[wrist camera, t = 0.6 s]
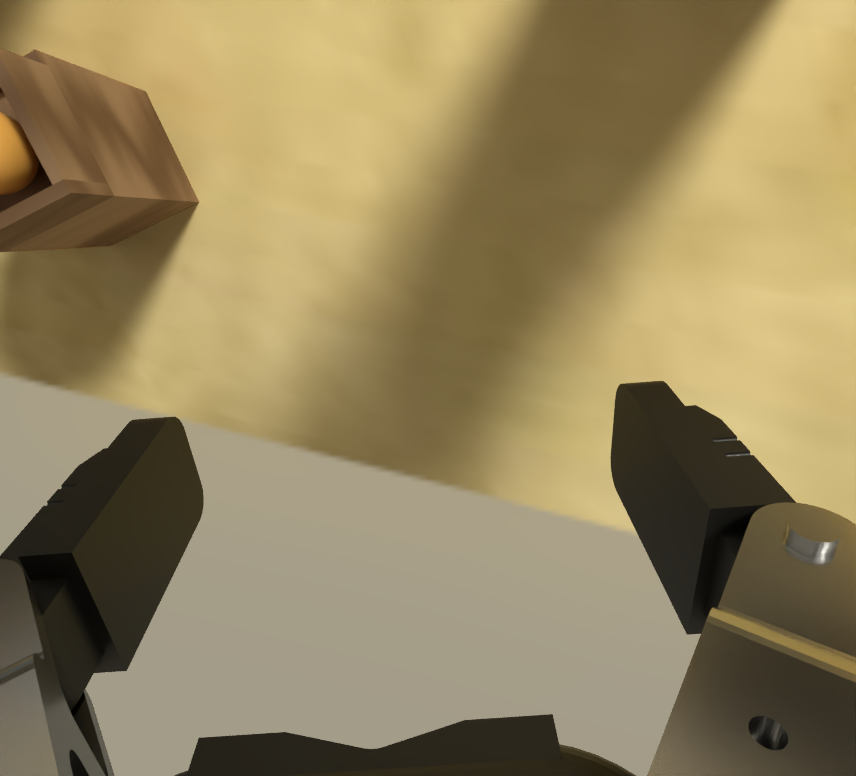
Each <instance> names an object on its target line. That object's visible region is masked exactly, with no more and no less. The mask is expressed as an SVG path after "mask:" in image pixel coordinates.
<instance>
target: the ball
mask: <svg viewBox="0 0 856 776" xmlns="http://www.w3.org/2000/svg"><path fill="white" fill-rule="evenodd" d="M38 167H39V158H38V156H37V155H36V153H35V151H34V149H33V147H32V145H31V143H30V141H29V140H28V138H27V136H26V134H25V132H24V130H23V128H22V126H21V125H20V123H18V122H17V121H16V120H14V119H13V118H11V117H10V116H8V115H6V114H4V113H1V112H0V195H6V194H11V193H15V192H18V191H20V190H22V189H24V188H25V187H26V186H28V185H29V184H30V183H31V182H32V180H33V179H34V177H35V176H36V174H37V171H38Z"/></svg>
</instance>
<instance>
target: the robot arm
mask: <svg viewBox="0 0 856 776" xmlns="http://www.w3.org/2000/svg"><path fill="white" fill-rule="evenodd" d="M611 471H612V477H613V482H614V485H615V488H616V491H617V493H618V495H619V497H620V499H621V501H622V503H623V505H624V507H625V509H626V511H627V513H628V515H629V517H630V519H631V521H632V523H633V525H634V527H635V529H636V532H637V534H638V536H639V538H640V540H641V542H642V543H643V546H644V548H645V550H646V552H647V554H648V556H649V558H650V560H651V562H652V564H653V566H654V568H655V570H656V572H657V574H658V576H659V578H660V580H661V582H662V584H663V586H664V588H665V590H666V592H667V594H668V597H669V599H670V601H671V603H672V605H673V607H674V609H675V611H676V613H677V615H678V617H679V619H680V621H681V623H682V625H683V627H684V629H685V631H686V633H687V634H701V636H700V638H699V641H698V644H697V646H696V649H695V652H694V654H693V657H692V660H691V662H690V665H689V667H688V670H687V673H686V675H685V678H684V681H683V683H682V686H681V688H680V691H679V694H678V697H677V699H676V702H675V704H674V707H673V709H672V712H671V715H670V717H669V720H668V723H667V725H666V728H665V731H664V733H663V736H662V738H661V741H660V744H659V746H658V749H657V752H656V754H655V757H654V760H653V762H652V765H651V767H650V770H649V772H648V775H647V776H856V525H855V524H854V523H852V522H851V521H849V520H848V519H846V518H844V517H842V516H840V515H838V514H836V513H833V512H831V511H829V510H826V509H823V508H819V507H816V506H812V505H807V504H801V503H796V502H795V501H794V500H793V499H792V497H791V496H790V495H789V494H788V493H787V492H786V491H785V490H784V489H783V487H782V486H781V485H780V484H779V483H778V482H777V481H776V480H775V479H774V477H773V476H772V475H771V474H770V473H769V472H768V471H767V470H766V469H765V467H764V466H763V465H762V464H761V463H760V462H759V461H758V460H757V459H756V458H755V456H754V455H750V451H749V450H748V449H747V448H746V446H745V445H744V444H743V443H742V442H741V441H740V440H739V441H737V436H736V435H735V434H734V433H733V432H732V431H731V430H730V429H729V428H728V426H727V425H726V424H725V423H724V422H723V421H722V420H721V419H720V418H718V417H716V416H714V415H712V414H711V413H709V412H707V411H705V410H703V409H702V408H700V407H698V406H696V405H694V406H685V405H684V404H683V403H682V402H681V401H680V399H679V398H678V397H677V396H676V395H675V393H674V392H673V391H672V390H671V389H670V387H669V386H668V385H667V384H666V383H665V382H664V381H653V382H640V383H627V384H620V385H619V386H618V389H617V392H616V398H615V410H614V422H613V435H612V447H611ZM47 503H48V505H47V506H43V507H42V508H41V509H40V511H39V512H38V513H37V514H36V515H35V517H34V518H33V519H32V520H31V521H30V522H29V523H28V525H27V526H26V527H25V528H24V529H23V530H22V531H21V533H20V534H19V535H18V536H17V537H16V538H15V540H14V541H13V542H12V543H11V544H10V545H9V546H8V548H7V549H6V550H5V551H4V552H3V553H2V554H1V556H0V776H114V773H113V770H112V766H111V763H110V760H109V757H108V753H107V750H106V747H105V743H104V740H103V737H102V734H101V730H100V727H99V724H98V721H97V717H96V714H95V711H94V707H93V704H92V701H91V699H90V697H89V695H88V693H87V691H86V689H85V688H86V686H87V684H88V682H89V680H90V679H91V677H92V675H93V673H100V672H115V671H127V669H128V667H129V665H130V663H131V661H132V658H133V657H134V654H135V652H136V650H137V648H138V646H139V644H140V642H141V640H142V638H143V636H144V634H145V632H146V630H147V628H148V626H149V623H150V621H151V619H152V617H153V615H154V613H155V611H156V609H157V607H158V605H159V603H160V601H161V599H162V597H163V595H164V592H165V591H166V588H167V587H168V584H169V582H170V580H171V578H172V576H173V574H174V572H175V570H176V568H177V566H178V563H179V562H180V560H181V558H182V556H183V554H184V552H185V549H186V547H187V545H188V543H189V541H190V539H191V537H192V535H193V533H194V531H195V529H196V527H197V525H198V522H199V521H200V518H201V515H202V510H203V489H202V485H201V481H200V478H199V475H198V472H197V468H196V465H195V462H194V459H193V455H192V452H191V449H190V446H189V442H188V439H187V436H186V433H185V430H184V427H183V425H182V423H181V421H180V420H179V419H178V418H176V417H164V418H150V419H139V420H132V421H130V422H129V423H128V424H127V425H126V427H125V428H124V429H123V430H122V432H121V433H120V434H119V435H118V436H117V437H116V439H115V440H114V441H113V442H112V443H111V445H110V446H109V447H108V448H106V449H103V450H101V451H100V452H98V453H97V454H95V455H94V456H92V457H91V458H89V459H88V460H87V461H85V462H84V463H82V464H80V465H79V466H78V467H77V468H76V469H75V470H74V472H73V473H72V474H71V475H70V476H69V477H68V478H67V480H66V481H65V482H64V483H63V484H62V488H61V489H58V490H57V491H56V492H55V494H54V495H53V496H52V497H51V498H50V499H49V500H48V501H47ZM175 776H635V775H634V774H632V773H631V772H629V771H627V770H626V769H624V768H622V767H620V766H619V765H617V764H615V763H613V762H611V761H608V760H606V759H604V758H602V757H600V756H598V755H595V754H592V753H589V752H586V751H583V750H580V749H577V748H574V747H569V746H565V745H560V744H559V742H558V737H557V733H556V729H555V724H554V719H553V715H552V714H551V715H537V716H522V717H507V718H491V719H476V720H464V721H461V722H458V723H456V724H452V725H449V726H446V727H443V728H440V729H437V730H434V731H431V732H428V733H425V734H422V735H419V736H416V737H413V738H410V739H407V740H404V741H401V742H398V743H395V744H392V745H388V746H386V747H382V748H379V749H363V748H359V747H354V746H349V745H344V744H340V743H335V742H330V741H325V740H320V739H315V738H311V737H306V736H301V735H295V734H291V733H286V732H281V733H266V734H251V735H236V736H222V737H206V738H199V739H198V743H197V745H196V749H195V751H194V754H193V758H192V761H191V764H190V767H189V770H188V771H185V772H182V773H180V774H177V775H175Z"/></svg>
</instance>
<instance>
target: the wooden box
mask: <svg viewBox="0 0 856 776" xmlns="http://www.w3.org/2000/svg"><path fill="white" fill-rule="evenodd" d="M0 112H1V113H4V114H6V115H8V116H10V117H11V118H13V119H14V120H16V121H17V122H18V123H20V125H21V126H22V128H23V130H24V132H25V134H26V136H27V138H28V140H29V141H30V143H31V145H32V147H33V149H34V151H35V153H36V155H37V156H38V158H39V167H38V171H37V174H36V176H35V177H34V179H33V180H32V182H31V183H30V184H29V185H28V186H26V187H25V188H24V189H22V190H20V191H18V192H15V193H11V194H6V195H0V252H12V251H29V250H47V249H64V248H82V247H100V246H111V245H113V244H115V243H117V242H119V241H121V240H123V239H125V238H127V237H129V236H131V235H133V234H135V233H137V232H139V231H141V230H143V229H145V228H147V227H149V226H151V225H154V224H156V223H158V222H160V221H162V220H164V219H166V218H168V217H170V216H172V215H174V214H176V213H178V212H180V211H182V210H184V209H186V208H188V207H190V206H192V205H194V204H196V203H198V202H199V201H198V199H197V197H196V195H195V193H194V191H193V188H192V186H191V184H190V182H189V180H188V178H187V176H186V174H185V172H184V170H183V168H182V166H181V164H180V162H179V159H178V157H177V155H176V153H175V151H174V149H173V147H172V145H171V143H170V141H169V139H168V137H167V135H166V133H165V130H164V128H163V126H162V124H161V122H160V120H159V118H158V116H157V114H156V112H155V110H154V108H153V106H152V104H151V101H150V99H149V97H148V95H147V93H146V91H143V90H140V89H138V88H135V87H132V86H130V85H127V84H124V83H122V82H119V81H117V80H114V79H111V78H109V77H106V76H103V75H101V74H98V73H95V72H93V71H90V70H87V69H85V68H82V67H79V66H77V65H74V64H71V63H69V62H66V61H64V60H61V59H58V58H56V57H53V56H50V55H48V54H45V53H42V52H40V51H37V50H33V51H32V52H30V53H28V54H27V55H25V56H20V55H17V54H14V53H11V52H8V51H6V50H3V49H0Z"/></svg>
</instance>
